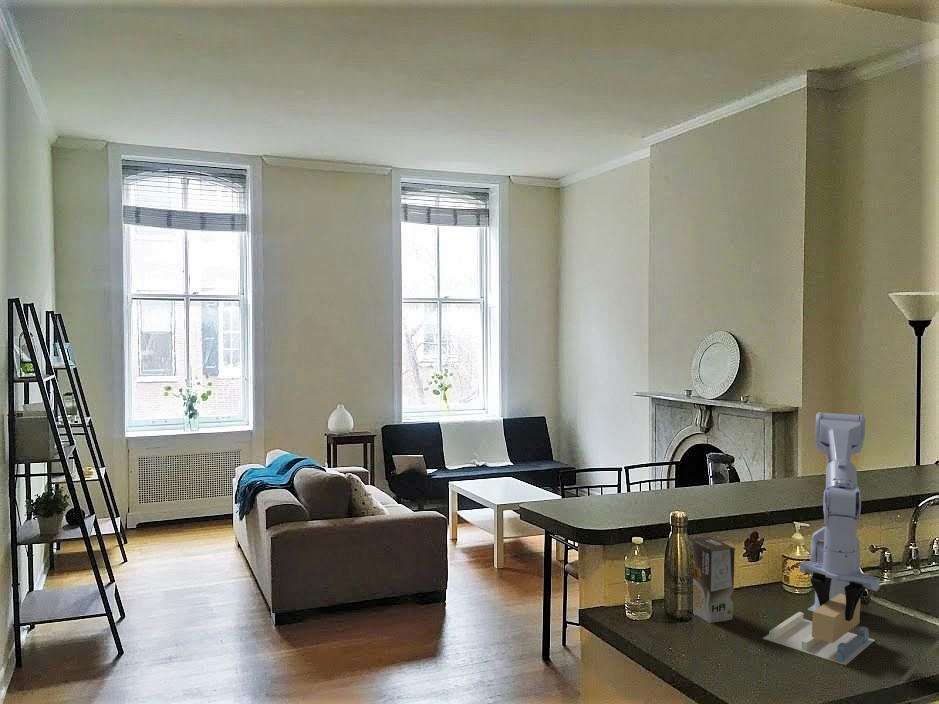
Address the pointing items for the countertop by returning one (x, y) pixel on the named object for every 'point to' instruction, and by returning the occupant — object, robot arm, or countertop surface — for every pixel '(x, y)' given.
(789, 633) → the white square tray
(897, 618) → the countertop surface
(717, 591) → the coffee box
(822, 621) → the tan bar
